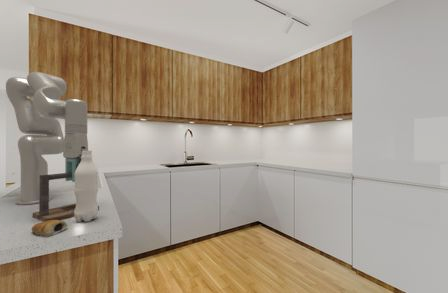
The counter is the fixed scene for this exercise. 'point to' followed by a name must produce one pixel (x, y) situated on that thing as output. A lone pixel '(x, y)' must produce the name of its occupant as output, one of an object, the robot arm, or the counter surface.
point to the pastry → (49, 227)
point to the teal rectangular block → (70, 168)
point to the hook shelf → (57, 213)
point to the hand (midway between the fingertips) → (76, 174)
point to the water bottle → (86, 188)
